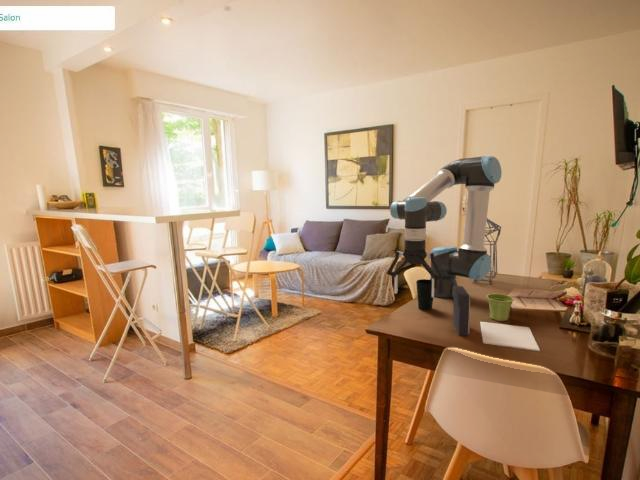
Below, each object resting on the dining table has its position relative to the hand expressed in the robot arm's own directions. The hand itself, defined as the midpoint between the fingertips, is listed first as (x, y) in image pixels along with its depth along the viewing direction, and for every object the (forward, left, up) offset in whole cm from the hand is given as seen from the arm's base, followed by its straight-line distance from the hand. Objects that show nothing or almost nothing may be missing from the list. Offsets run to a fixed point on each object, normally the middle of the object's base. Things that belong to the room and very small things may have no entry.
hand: (414, 294), depth 125 cm
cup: (-18, +3, -12) cm, 22 cm away
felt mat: (0, +32, -12) cm, 34 cm away
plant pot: (-16, +31, -12) cm, 37 cm away
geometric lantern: (-69, +28, -12) cm, 75 cm away
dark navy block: (0, +17, -12) cm, 20 cm away
